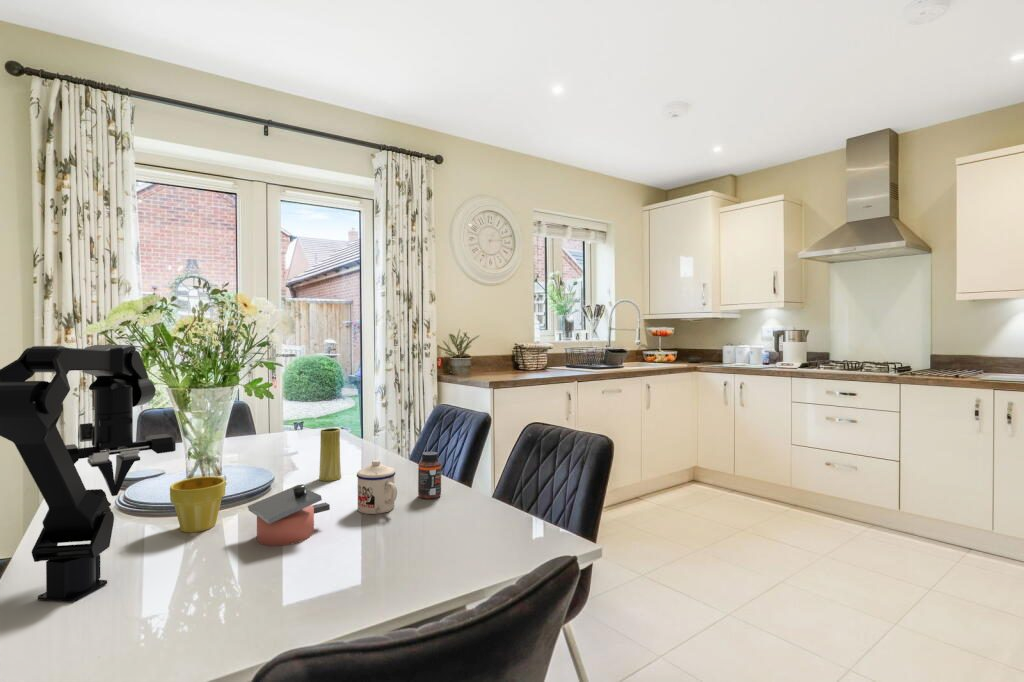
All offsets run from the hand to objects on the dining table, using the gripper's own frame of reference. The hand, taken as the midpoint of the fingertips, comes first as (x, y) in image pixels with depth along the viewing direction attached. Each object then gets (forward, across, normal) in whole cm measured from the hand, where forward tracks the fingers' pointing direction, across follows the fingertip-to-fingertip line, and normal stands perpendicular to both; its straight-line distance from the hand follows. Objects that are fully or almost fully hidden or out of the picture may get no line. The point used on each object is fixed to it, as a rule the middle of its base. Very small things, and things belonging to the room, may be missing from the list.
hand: (114, 495), depth 98 cm
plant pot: (+12, -16, -7) cm, 21 cm away
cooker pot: (+12, -29, +10) cm, 33 cm away
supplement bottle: (+12, -65, +10) cm, 67 cm away
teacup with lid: (+12, -50, +10) cm, 53 cm away
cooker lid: (+6, -27, +10) cm, 30 cm away
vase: (+12, -54, -23) cm, 60 cm away
